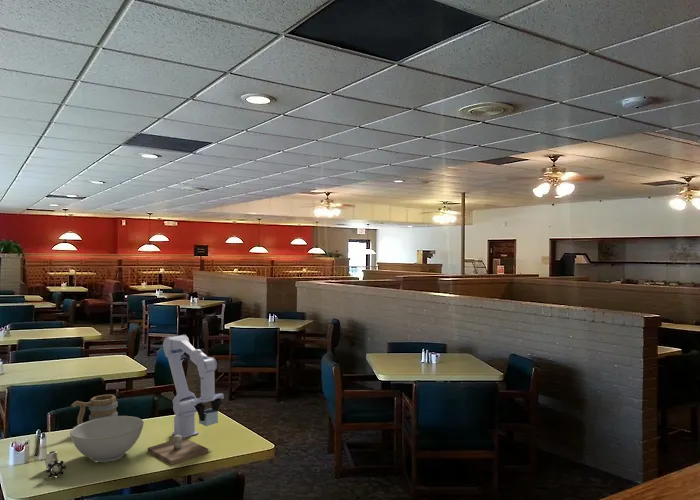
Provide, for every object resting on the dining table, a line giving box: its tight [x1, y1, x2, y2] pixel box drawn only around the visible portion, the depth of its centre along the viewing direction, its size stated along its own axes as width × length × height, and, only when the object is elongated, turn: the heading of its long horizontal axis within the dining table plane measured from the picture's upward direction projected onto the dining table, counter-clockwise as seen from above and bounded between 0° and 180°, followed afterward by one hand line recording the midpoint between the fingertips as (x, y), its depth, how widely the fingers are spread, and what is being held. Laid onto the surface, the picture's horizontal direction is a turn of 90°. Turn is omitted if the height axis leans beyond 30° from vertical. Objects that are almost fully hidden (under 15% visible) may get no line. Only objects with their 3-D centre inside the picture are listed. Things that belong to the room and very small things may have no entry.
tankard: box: [71, 394, 119, 425], centre depth 246 cm, size 20×13×15 cm, turn 133°
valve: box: [44, 450, 67, 478], centre depth 199 cm, size 7×7×12 cm
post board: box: [147, 434, 209, 465], centre depth 217 cm, size 20×16×6 cm
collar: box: [198, 407, 219, 427], centre depth 227 cm, size 6×6×5 cm
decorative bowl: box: [69, 415, 144, 463], centre depth 214 cm, size 27×27×12 cm
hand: (208, 418), depth 227 cm, fingers closed on collar, 6 cm apart
